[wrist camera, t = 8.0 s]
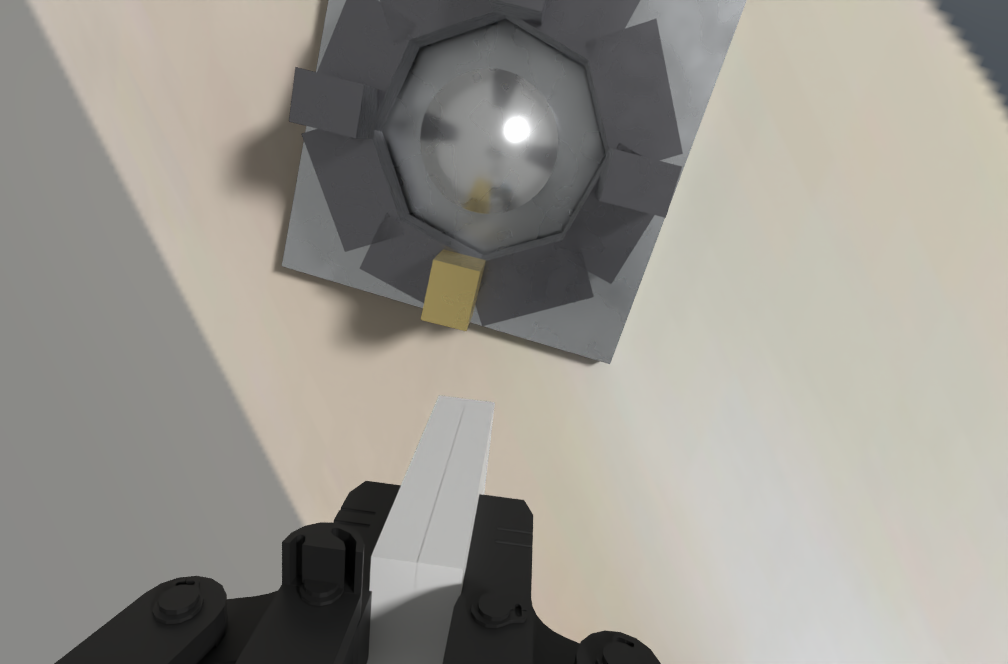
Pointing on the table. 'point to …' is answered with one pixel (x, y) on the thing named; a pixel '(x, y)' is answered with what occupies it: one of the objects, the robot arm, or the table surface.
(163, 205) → the table surface
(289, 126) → the table surface
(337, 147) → the octagonal block ring
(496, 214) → the base plate
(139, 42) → the table surface
